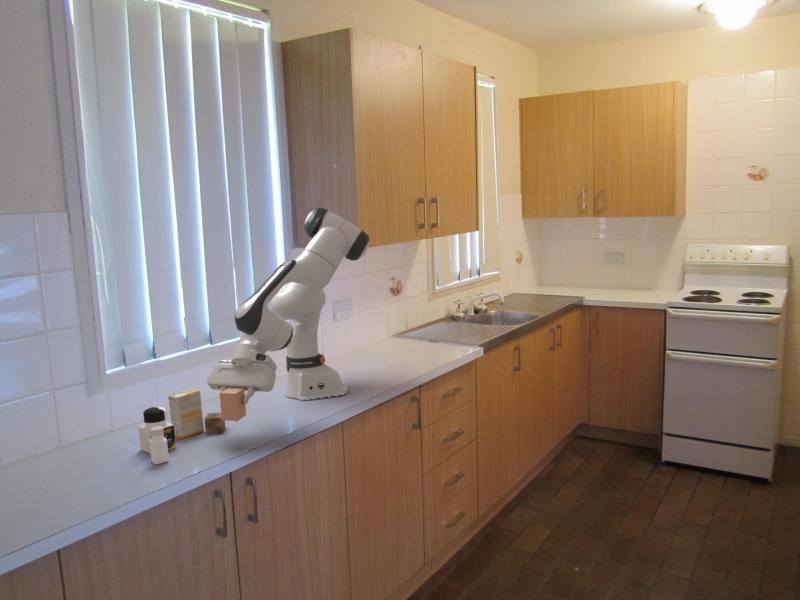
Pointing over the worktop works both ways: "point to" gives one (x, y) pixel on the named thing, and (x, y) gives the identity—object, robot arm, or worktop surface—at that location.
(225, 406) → the terracotta block
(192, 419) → the supplement box
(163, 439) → the pepper shaker
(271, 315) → the robot arm
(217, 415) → the walnut block
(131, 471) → the worktop surface
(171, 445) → the medicine bottle
